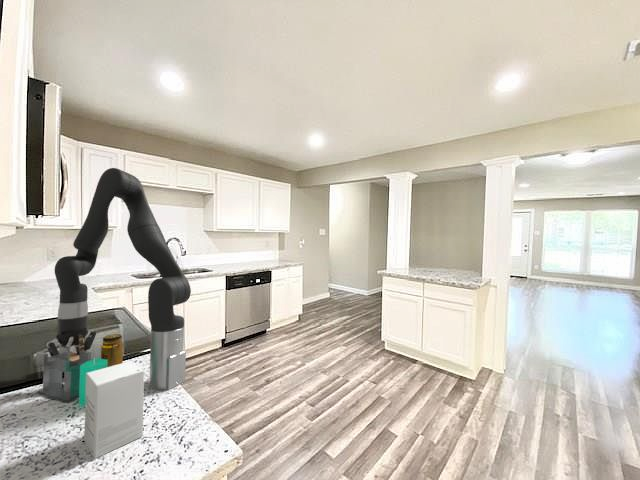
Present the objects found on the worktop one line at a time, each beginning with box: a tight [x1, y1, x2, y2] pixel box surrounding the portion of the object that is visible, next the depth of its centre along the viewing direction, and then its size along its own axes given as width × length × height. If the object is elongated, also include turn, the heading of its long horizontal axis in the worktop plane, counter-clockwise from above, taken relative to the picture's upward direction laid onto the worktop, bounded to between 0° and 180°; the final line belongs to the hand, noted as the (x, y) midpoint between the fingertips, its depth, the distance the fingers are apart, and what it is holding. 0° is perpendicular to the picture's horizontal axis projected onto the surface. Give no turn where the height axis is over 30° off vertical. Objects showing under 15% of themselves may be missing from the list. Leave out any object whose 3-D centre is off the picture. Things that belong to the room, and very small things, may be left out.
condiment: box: [100, 333, 124, 367], centre depth 96 cm, size 7×8×12 cm
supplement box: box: [83, 360, 145, 459], centre depth 62 cm, size 9×9×15 cm
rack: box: [35, 345, 92, 404], centre depth 81 cm, size 14×6×12 cm, turn 69°
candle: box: [78, 356, 107, 408], centre depth 77 cm, size 6×6×12 cm
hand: (71, 366), depth 93 cm, fingers closed on rail, 3 cm apart
